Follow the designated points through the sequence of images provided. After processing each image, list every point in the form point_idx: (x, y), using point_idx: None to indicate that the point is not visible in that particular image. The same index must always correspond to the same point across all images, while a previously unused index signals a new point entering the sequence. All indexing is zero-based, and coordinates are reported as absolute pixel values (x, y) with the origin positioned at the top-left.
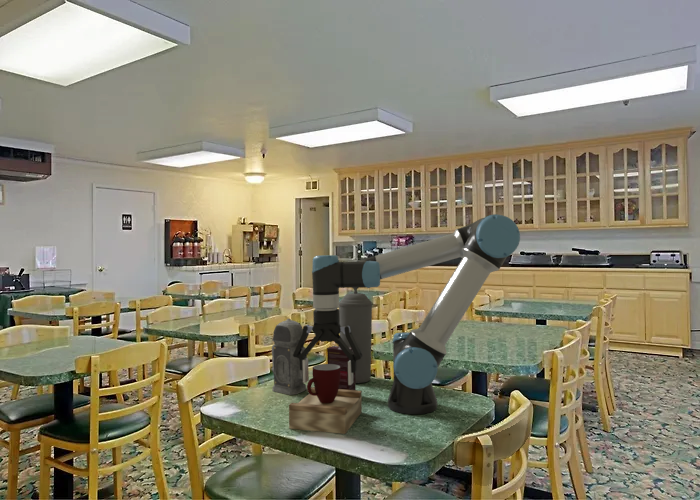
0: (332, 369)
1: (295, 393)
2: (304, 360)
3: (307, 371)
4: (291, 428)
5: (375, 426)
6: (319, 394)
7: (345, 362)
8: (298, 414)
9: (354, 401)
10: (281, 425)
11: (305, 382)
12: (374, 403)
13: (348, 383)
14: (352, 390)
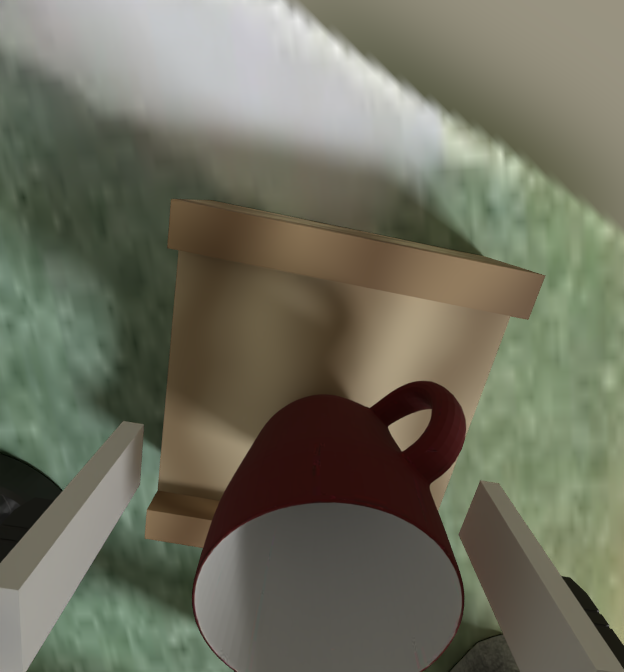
0: (287, 639)
1: (482, 644)
2: (600, 666)
3: (496, 582)
4: (473, 254)
5: (91, 304)
6: (363, 406)
7: None
8: (463, 255)
9: (173, 432)
10: None
11: (481, 481)
12: (149, 559)
13: (138, 431)
14: (194, 541)
